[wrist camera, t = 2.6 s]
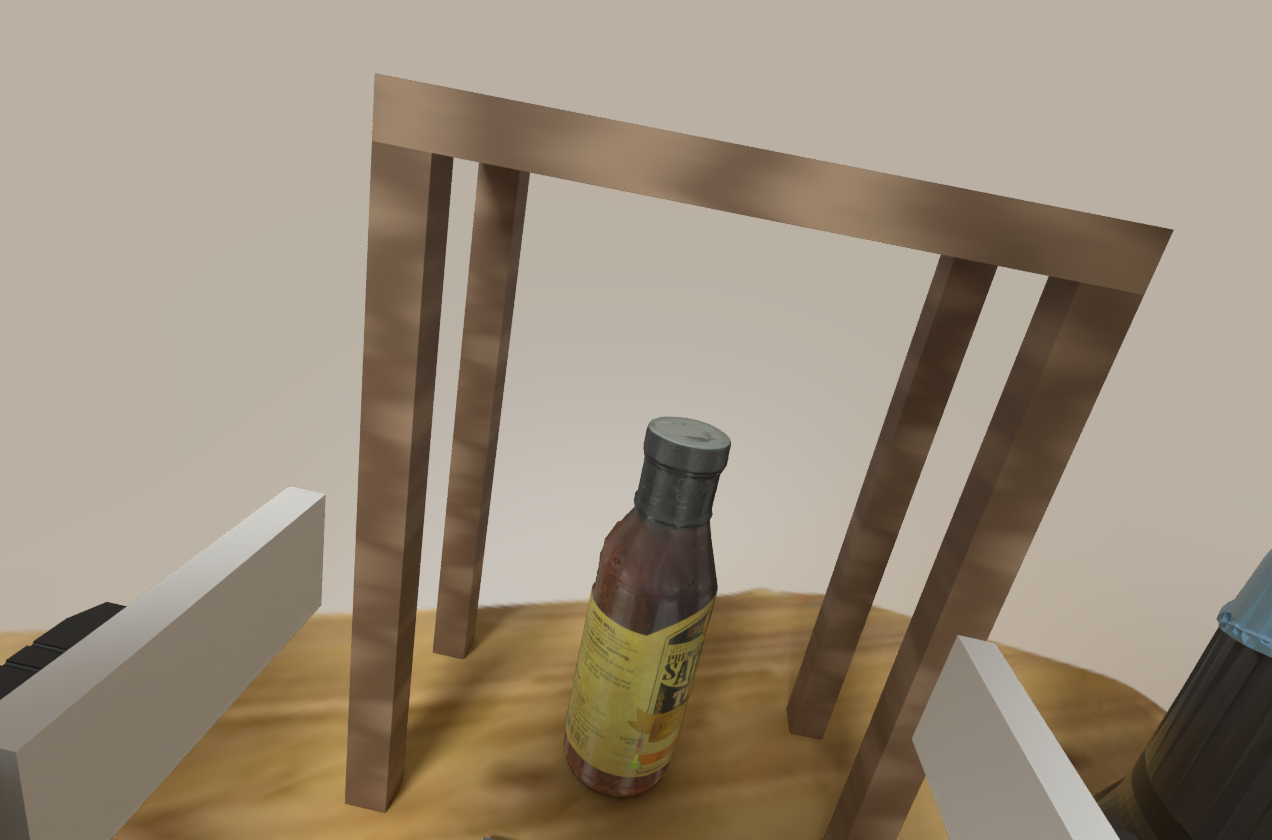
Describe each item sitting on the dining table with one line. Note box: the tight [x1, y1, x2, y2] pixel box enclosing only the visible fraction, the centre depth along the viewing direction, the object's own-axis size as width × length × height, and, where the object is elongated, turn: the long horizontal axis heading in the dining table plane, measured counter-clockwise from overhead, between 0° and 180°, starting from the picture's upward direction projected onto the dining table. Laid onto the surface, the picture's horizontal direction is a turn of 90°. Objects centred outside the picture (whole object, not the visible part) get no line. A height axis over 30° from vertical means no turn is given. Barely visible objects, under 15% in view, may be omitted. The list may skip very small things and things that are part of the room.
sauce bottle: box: [564, 417, 731, 797], centre depth 35 cm, size 7×6×20 cm
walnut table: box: [345, 73, 1173, 840], centre depth 32 cm, size 25×13×32 cm, turn 84°
